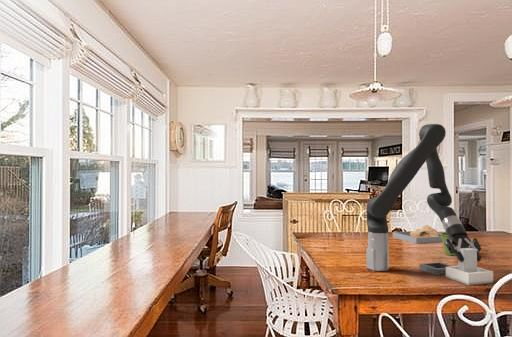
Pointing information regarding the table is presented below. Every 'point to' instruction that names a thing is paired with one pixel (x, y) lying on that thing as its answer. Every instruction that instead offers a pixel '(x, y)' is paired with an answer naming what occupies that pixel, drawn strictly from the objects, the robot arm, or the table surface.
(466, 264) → the skincare box
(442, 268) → the collar
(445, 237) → the plant pot
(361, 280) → the table surface
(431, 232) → the tan rock hide
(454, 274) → the bin
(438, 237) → the tray rim
